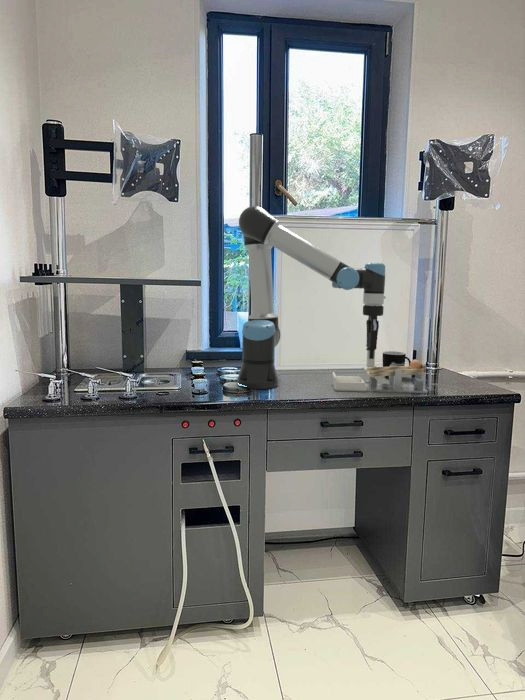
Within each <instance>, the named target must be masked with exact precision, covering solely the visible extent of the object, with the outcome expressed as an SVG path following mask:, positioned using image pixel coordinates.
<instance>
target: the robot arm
mask: <svg viewBox="0 0 525 700" xmlns="http://www.w3.org/2000/svg"><path fill="white" fill-rule="evenodd" d="M238 227H239V230H240V232H241V233H242V234H243V246H244V247H245V249H246V250H247V251H248V264H249V265H248V266H249V283H250V304H251V314H250V315H249V316H248V317H247V319H248V320H247V321H246V322H244V323H243V325H242V330H241V333H242V355H241V356H242V358H241V359H242V361H241V362H242V364H241V366H240V367H241V368H240V370H239V373H238V376H237V381H236V382H238V383H239V384H242V385H245V386H247V387H248V388H247V389H250V390H253V389H254V390H266V389H273V388H277V387H278V386H279V377H278V374H277V371H276V368H275V367H276V366H275V348H276V347H277V345H278V344H279V342H280V340H281V331H280V330H281V329H280V327H279V316H278V314H276V313H275V309H274V308H275V307H274V286H273V285H274V284H273V266H272V264H273V263H272V248H273V247H274V248H275V249H277V250H279V251H280V252H281V253H284V254H285V255H287V256H289V257H290V258H292V259H293V260H295V261H297V262H298V263H300V264H302V265H304V266H305V267H307V268H309V269H310V270H312V271H314V272H315V273H317V274H318V275H321V276H322V277H324V278H326V279H327V280H329V281H330V282H331V287H332V288H333V289H342V290H345V291H349V290H353V289H361V290H362V289H363V298H362V304H364V305H362V315H363V316H368V317H367V319H366V323H365V324H366V344H365V346H366V349H365V350H366V367H374V366H375V357H376V350H377V344H378V343H377V342H378V335H379V334H378V333H379V327H380V326H379V324H380V323H379V322H380V321H379V320H378V317H382V316H383V315H384V306H383V305H384V304H385V303H384V299H386V296H385V286H386V285H385V284H386V265H385V264H384V263H382V262H381V263H379V262H367V263H365V264H364V267H361V268H356V267H352V266H349V265H347V264H346V263H344V262H342V261H341V260H339V259H337V258H336V257H334V256H333V255H331V254H329V253H327V252H326V251H324V250H323V249H321V248H319V247H318V246H315V245H314V244H312V243H311V242H309V241H308V240H306V239H304V238H302V237H301V236H299V235H297V234H296V233H294V232H293V231H291V230H289V229H288V228H286V227H284V226H283V225H281V224H280V220H279V219H277V218H275V217H274V216H273V215H272V214H271V213H270V212H269V211H267V210H266V209H264V208H263V207H260V206H257V205H254V206H253V205H252V206H249V207H246V208H245V209H244V210H243V211H242V212H241V213H240V215H239V218H238Z"/></svg>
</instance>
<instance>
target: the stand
mask: <svg viewBox="0 0 525 700" xmlns="http://www.w3.org/2000/svg"><path fill="white" fill-rule="evenodd" d="M393 366H397V365H390V367H393ZM402 381H403V375H402V370H395V376H389V378H388V383H380V382H379V383H378V380H377V378H376V376H372V377H369V376H368V382H365V384H366V385H367V390H368V391H367V392H373V391H380V392H381V393H382V392H383V393H410V394H411V393H412V394H417V393H418V394H428V393H429V391H428V389H426V388H425V387H424V380H422V379H421V378H416V377H415V378H413V384H411V383H410V384H407V383H405V384H404V383H402ZM380 392H379V393H380Z"/></svg>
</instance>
